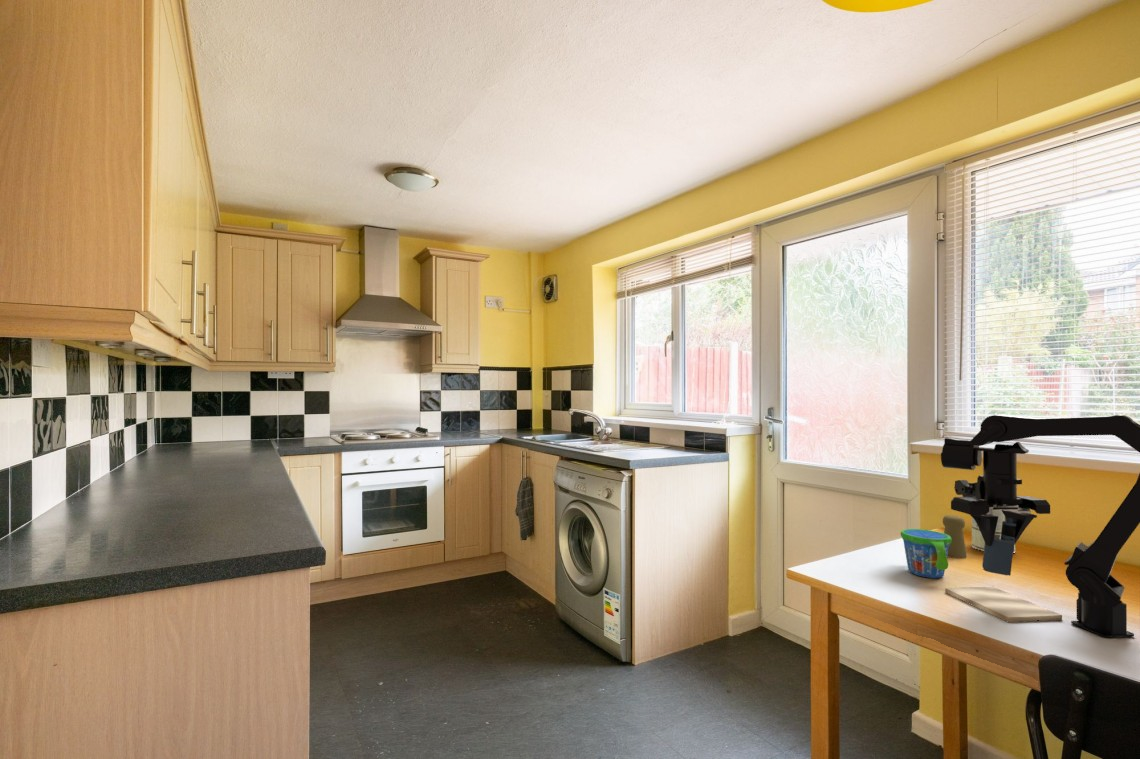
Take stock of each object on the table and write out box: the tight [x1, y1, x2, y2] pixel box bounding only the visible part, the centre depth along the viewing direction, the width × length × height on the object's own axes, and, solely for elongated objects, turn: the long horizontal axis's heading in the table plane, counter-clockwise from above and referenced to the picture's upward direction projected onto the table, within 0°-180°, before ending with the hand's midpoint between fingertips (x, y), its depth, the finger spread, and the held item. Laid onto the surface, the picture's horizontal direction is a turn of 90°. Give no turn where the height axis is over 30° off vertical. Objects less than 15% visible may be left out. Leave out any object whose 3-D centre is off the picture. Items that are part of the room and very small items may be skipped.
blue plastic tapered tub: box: [900, 528, 952, 579], centre depth 138 cm, size 16×10×10 cm
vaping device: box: [982, 518, 1016, 576], centre depth 118 cm, size 3×5×12 cm, turn 77°
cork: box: [942, 514, 968, 559], centre depth 154 cm, size 6×6×11 cm
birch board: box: [944, 586, 1063, 623], centre depth 118 cm, size 16×12×1 cm
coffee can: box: [971, 499, 1016, 554], centre depth 160 cm, size 10×10×14 cm
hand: (1000, 545), depth 118 cm, fingers closed on vaping device, 5 cm apart
